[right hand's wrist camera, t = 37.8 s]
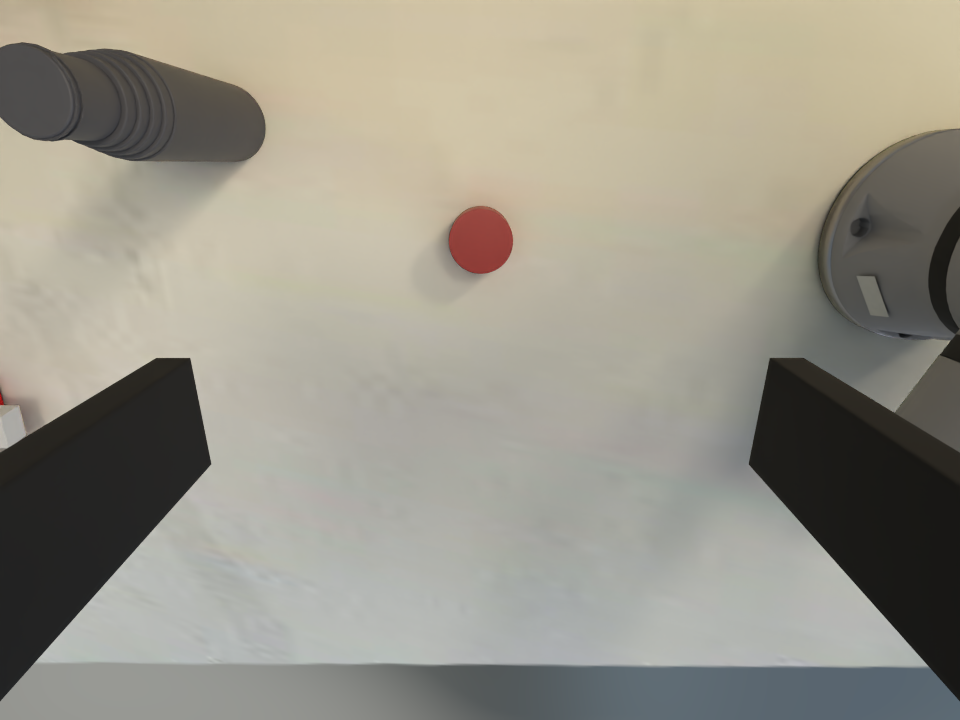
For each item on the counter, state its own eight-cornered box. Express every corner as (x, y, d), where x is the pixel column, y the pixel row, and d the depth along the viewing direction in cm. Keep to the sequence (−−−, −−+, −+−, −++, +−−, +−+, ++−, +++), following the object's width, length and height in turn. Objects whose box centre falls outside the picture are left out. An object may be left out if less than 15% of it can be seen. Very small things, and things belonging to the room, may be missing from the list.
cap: (521, 223, 41) (524, 227, 38) (493, 277, 42) (494, 284, 40) (467, 195, 40) (466, 197, 38) (440, 250, 42) (438, 256, 39)
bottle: (230, 176, 40) (41, 186, 23) (178, 115, 38) (-67, 78, 21) (280, 130, 39) (121, 105, 21) (228, 66, 37) (13, -15, 20)
